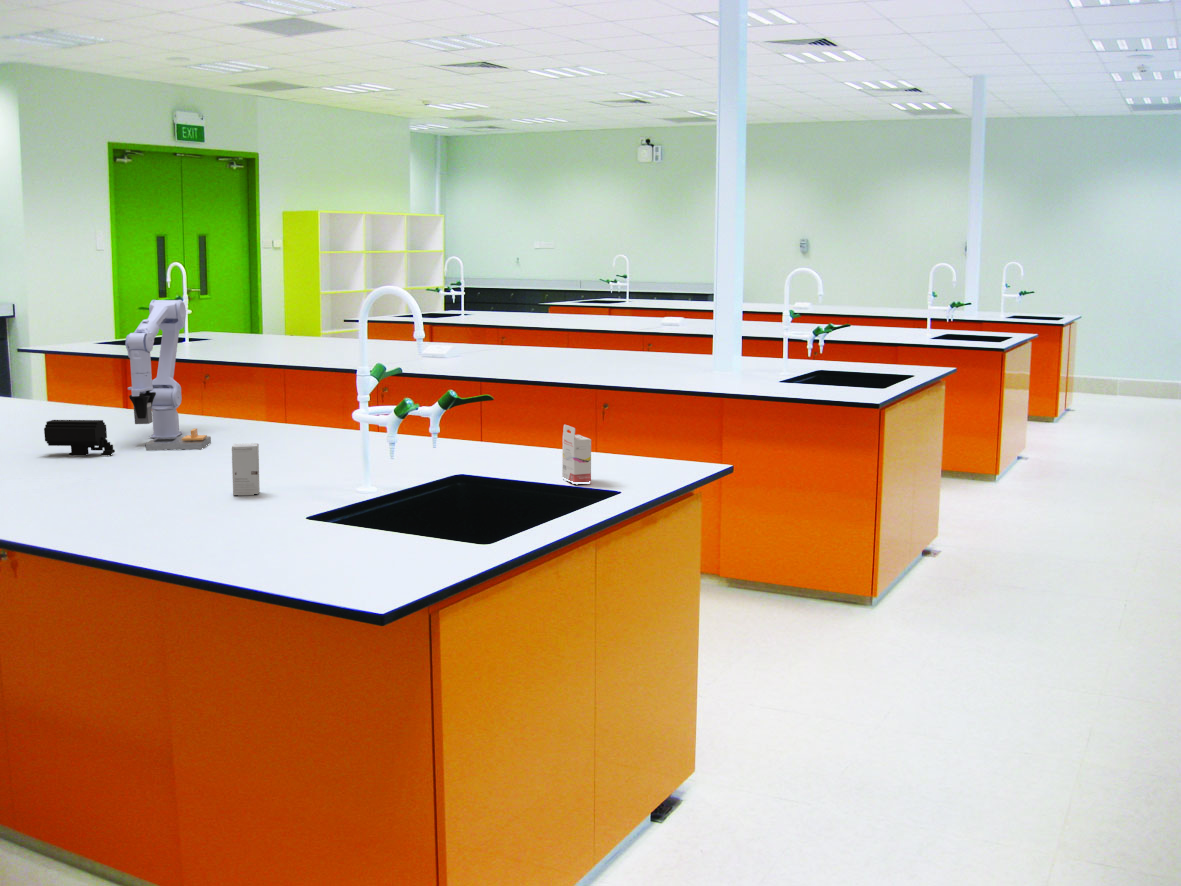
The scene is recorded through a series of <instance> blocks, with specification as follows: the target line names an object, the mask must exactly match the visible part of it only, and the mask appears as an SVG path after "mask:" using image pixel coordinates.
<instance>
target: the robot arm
mask: <svg viewBox="0 0 1181 886" xmlns="http://www.w3.org/2000/svg"><path fill="white" fill-rule="evenodd" d="M148 308H149V309H148V311H149V312H148V313H149V315H148V317H147V318H146V319H142V321H140V323H139V324H138V326H137V328H136V329H135V330H134V332H130V333H129V334H127V335H126V337H125V348H126V351H127V356H128V357H127V358H129V361H130V377H131V378H130V379H131V386H129V387H127V390H128V391H130V392H131V394H130V395H128V397H129V401H130V402H131V403H132V405H133V409H134V408H135V411H136V414H137V417H138V419H141V418H146V413H147V403H151V408H152V421H153V422H152V433H153V434H152V435H150V436H149V439H155V438H156V437H180V435H182V434H183V433H184V432H183V431H180V419H179V416H180V415H179V413H178V411H177V409H178V408H179V407H180V405H181V404H182V398H183V397H182V387H181V384H179V382H177V381H176V380H175V379H174V376H175V367H176V360H177V359H176V357H177V352H178V343H179V336H180V330H182V329H183V328H185V325H186V324H185V323H186V317H187V316H186V315H187V310H186V304H185V302H184V301H183V300H182V299H170V300H169V299H161V300H160V299H159V300H158V299H157V300H156V299H152V300H151V301H150V303H149V305H148ZM160 330H161V331H162V335H161V342H160V350H159V358H158V365H157V366H158V367H157V371H156V372H157V374H156V377H155V378H154V379H152V378H153V376H152V374H153V373H152V361H151V360H152V359H151V358H152V357H151V352H152V351H153V348H154V343H155V338H156V337H157V335H158V334H159V331H160Z"/></svg>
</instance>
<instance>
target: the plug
mask: <svg viewBox="0 0 1181 886" xmlns="http://www.w3.org/2000/svg"><path fill="white" fill-rule="evenodd" d="M133 414H134V415H133V417H134V425H149V424H151V423H152V424H153V418H152V408H151V403H147V413H146V418H141V419H138V417H137V414H136V411H135V408H134V407H133Z"/></svg>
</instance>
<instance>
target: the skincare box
mask: <svg viewBox="0 0 1181 886" xmlns="http://www.w3.org/2000/svg"><path fill="white" fill-rule="evenodd" d="M259 445H260V444H259V443H233V444H232V446H231V463H232V464H231V466H232V467H231V468H232V470H231V471H232V473H231V474H232V495H238V496H255V495H254V494H258V493H260V456H259V455H260V454H259V450H260V449H259ZM258 495H259V494H258Z"/></svg>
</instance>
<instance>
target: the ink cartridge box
mask: <svg viewBox="0 0 1181 886" xmlns="http://www.w3.org/2000/svg"><path fill="white" fill-rule="evenodd" d="M562 430H563V432H562V464H561V465H562V466H561V467H562V470H561V471H562V472H561V473H562V477H564V478H566V479H568V480H570V481H573V482H589V481H591V482H592V439H591V438H589V437H586V436H583V435H581V434H576V428H575V427H573V426H570V425H567V424H566V423H565V424H563V428H562ZM568 431H569V432H568Z"/></svg>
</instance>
